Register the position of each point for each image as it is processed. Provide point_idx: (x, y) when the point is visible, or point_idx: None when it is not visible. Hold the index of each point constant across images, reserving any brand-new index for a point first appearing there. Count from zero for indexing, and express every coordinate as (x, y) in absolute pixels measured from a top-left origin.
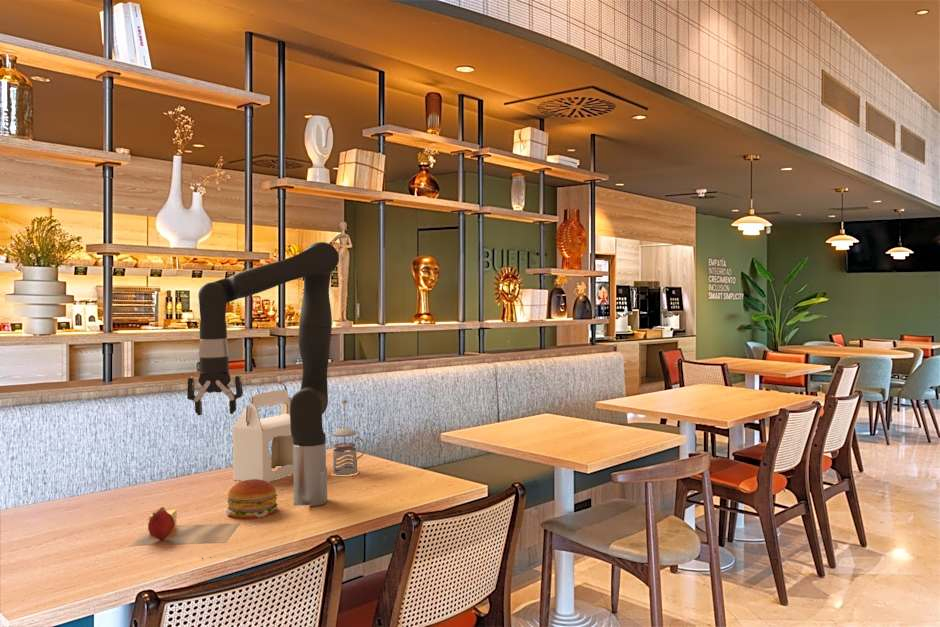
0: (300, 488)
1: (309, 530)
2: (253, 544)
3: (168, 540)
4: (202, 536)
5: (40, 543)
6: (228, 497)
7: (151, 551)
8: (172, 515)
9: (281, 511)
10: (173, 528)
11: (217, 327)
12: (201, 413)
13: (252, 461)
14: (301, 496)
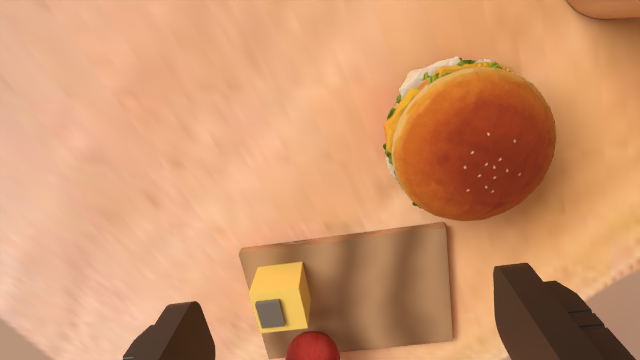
0: (630, 13)
1: (622, 231)
2: None
3: (328, 333)
4: (389, 311)
5: (70, 321)
6: (387, 149)
7: None
8: (304, 309)
9: (526, 71)
10: (338, 351)
11: None
12: (198, 323)
13: None
14: (612, 15)
